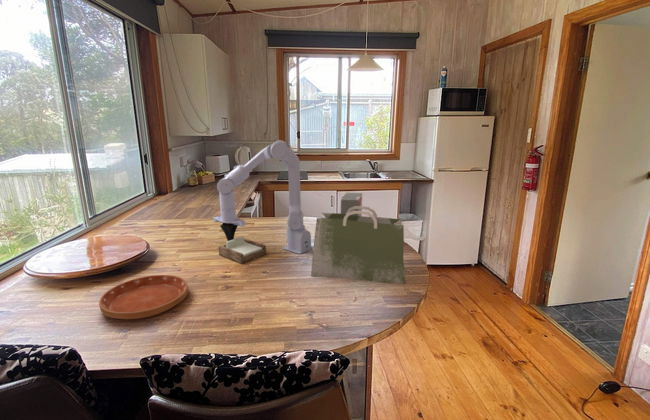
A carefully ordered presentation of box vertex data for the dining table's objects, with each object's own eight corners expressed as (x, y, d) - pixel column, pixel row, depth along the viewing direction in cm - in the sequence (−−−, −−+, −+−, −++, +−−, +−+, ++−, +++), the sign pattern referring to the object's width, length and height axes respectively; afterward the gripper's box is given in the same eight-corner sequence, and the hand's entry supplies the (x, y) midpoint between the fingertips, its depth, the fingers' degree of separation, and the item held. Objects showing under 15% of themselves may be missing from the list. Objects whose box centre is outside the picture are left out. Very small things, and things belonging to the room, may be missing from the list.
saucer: (166, 277, 116) (165, 267, 115) (203, 299, 102) (202, 288, 101) (89, 305, 99) (86, 294, 98) (120, 336, 85) (118, 323, 84)
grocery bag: (404, 266, 123) (408, 204, 117) (406, 284, 110) (410, 215, 104) (317, 260, 128) (316, 201, 122) (309, 277, 115) (307, 211, 109)
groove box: (266, 254, 135) (265, 245, 134) (241, 264, 126) (240, 254, 125) (243, 246, 143) (243, 237, 142) (219, 255, 134) (218, 246, 133)
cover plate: (262, 249, 133) (261, 241, 133) (242, 257, 126) (241, 248, 126) (244, 243, 140) (243, 235, 139) (224, 250, 133) (224, 242, 132)
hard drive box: (357, 247, 141) (358, 200, 136) (339, 246, 143) (339, 199, 138) (361, 235, 156) (362, 192, 151) (345, 234, 158) (345, 191, 152)
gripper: (249, 207, 135) (251, 240, 138) (221, 204, 141) (223, 235, 144) (237, 212, 128) (239, 245, 132) (208, 208, 135) (211, 240, 138)
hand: (230, 240), depth 138 cm, fingers closed
